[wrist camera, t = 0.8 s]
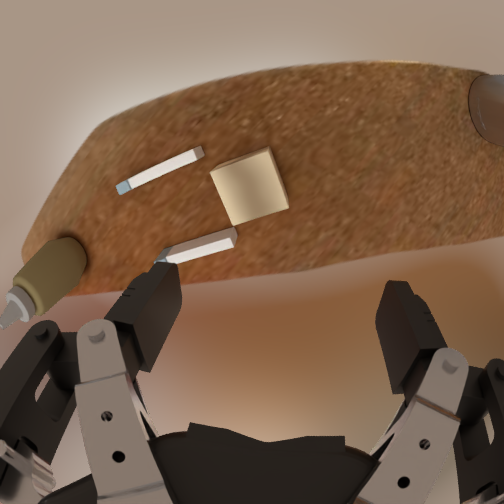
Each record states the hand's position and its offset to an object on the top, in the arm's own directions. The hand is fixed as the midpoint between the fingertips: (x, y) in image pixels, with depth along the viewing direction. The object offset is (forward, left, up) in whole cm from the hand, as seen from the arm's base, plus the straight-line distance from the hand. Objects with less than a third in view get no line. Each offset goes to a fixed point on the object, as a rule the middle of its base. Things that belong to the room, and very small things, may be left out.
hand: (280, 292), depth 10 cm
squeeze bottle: (+33, 0, -22) cm, 40 cm away
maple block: (+3, 0, -22) cm, 22 cm away
